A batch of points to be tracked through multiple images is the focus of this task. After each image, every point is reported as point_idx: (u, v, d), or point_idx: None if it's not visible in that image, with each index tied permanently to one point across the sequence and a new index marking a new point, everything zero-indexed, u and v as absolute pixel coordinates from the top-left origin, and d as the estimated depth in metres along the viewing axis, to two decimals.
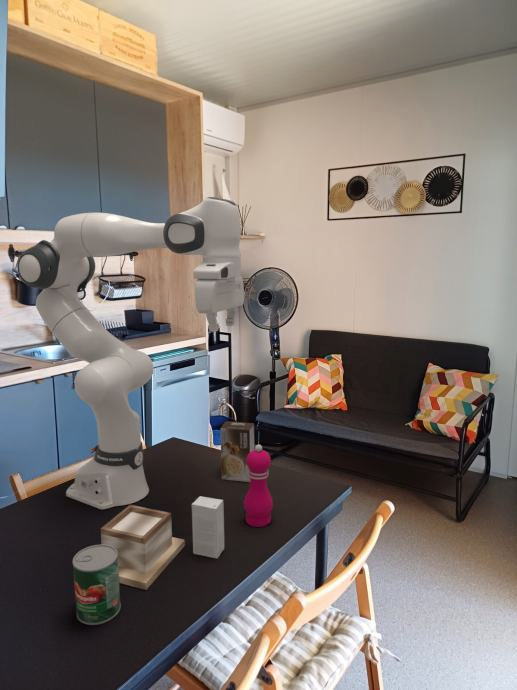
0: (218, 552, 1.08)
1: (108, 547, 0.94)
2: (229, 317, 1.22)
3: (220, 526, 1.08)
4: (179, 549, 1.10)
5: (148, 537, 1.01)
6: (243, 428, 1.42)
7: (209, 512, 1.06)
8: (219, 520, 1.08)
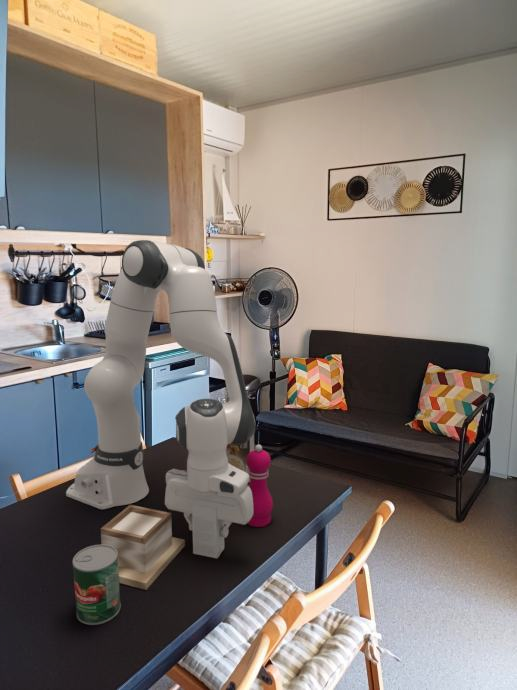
0: (218, 552, 1.08)
1: (108, 547, 0.94)
2: None
3: (220, 526, 1.08)
4: (179, 549, 1.10)
5: (148, 537, 1.01)
6: None
7: (209, 512, 1.06)
8: (219, 520, 1.08)
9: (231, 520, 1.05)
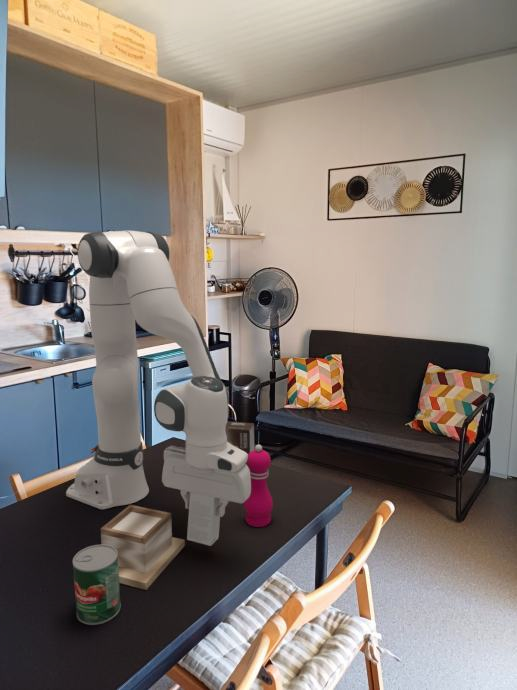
0: (212, 539, 1.07)
1: (108, 547, 0.94)
2: (188, 500, 1.10)
3: None
4: (179, 549, 1.10)
5: (148, 537, 1.01)
6: (243, 428, 1.42)
7: (207, 496, 1.06)
8: (217, 506, 1.07)
9: (228, 499, 1.04)
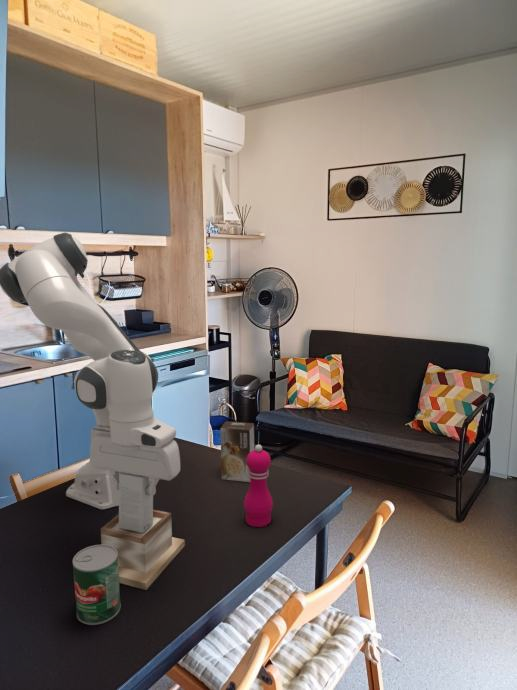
0: (144, 526, 1.03)
1: (108, 547, 0.94)
2: (118, 480, 1.05)
3: (148, 498, 1.04)
4: (179, 549, 1.10)
5: (148, 537, 1.01)
6: (243, 428, 1.42)
7: (135, 481, 1.02)
8: None
9: (156, 476, 1.00)
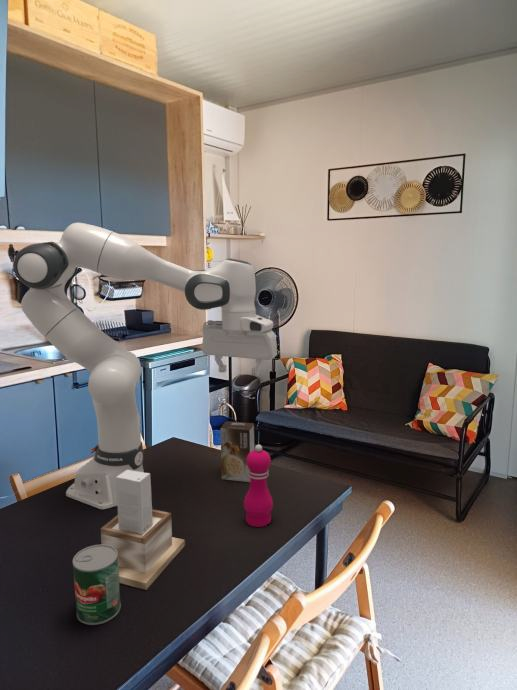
0: (143, 528, 1.03)
1: (108, 547, 0.94)
2: (221, 364, 1.33)
3: (146, 500, 1.03)
4: (179, 549, 1.10)
5: (148, 537, 1.01)
6: (243, 428, 1.42)
7: (132, 485, 1.01)
8: (145, 494, 1.03)
9: (259, 357, 1.27)
